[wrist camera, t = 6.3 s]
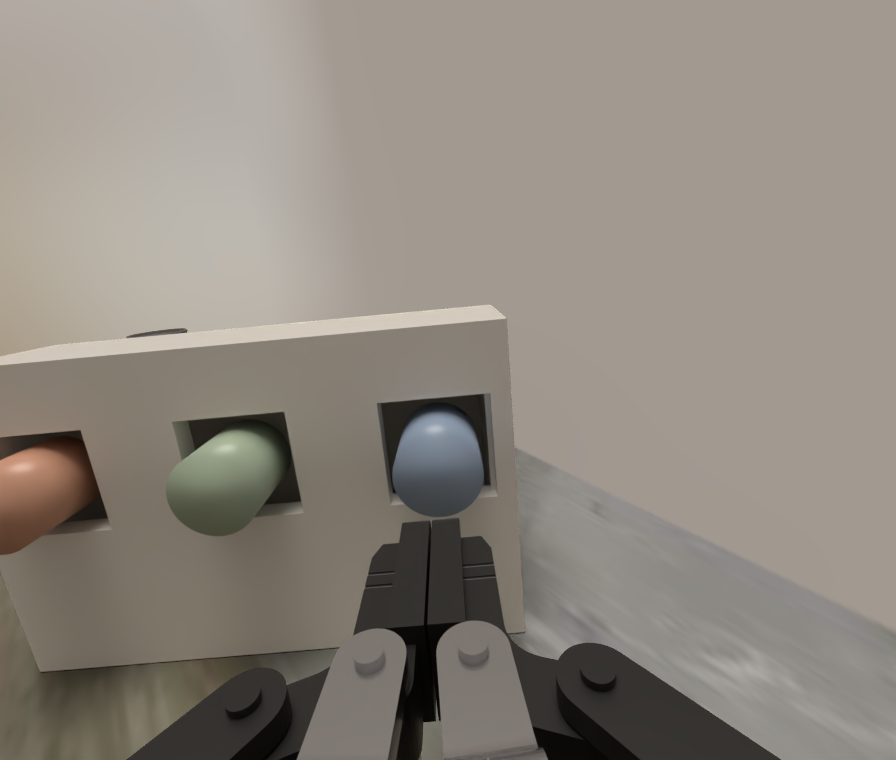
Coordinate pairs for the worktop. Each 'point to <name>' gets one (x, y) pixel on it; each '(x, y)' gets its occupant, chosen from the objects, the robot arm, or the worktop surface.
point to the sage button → (228, 478)
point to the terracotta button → (43, 489)
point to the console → (285, 511)
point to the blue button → (438, 461)
